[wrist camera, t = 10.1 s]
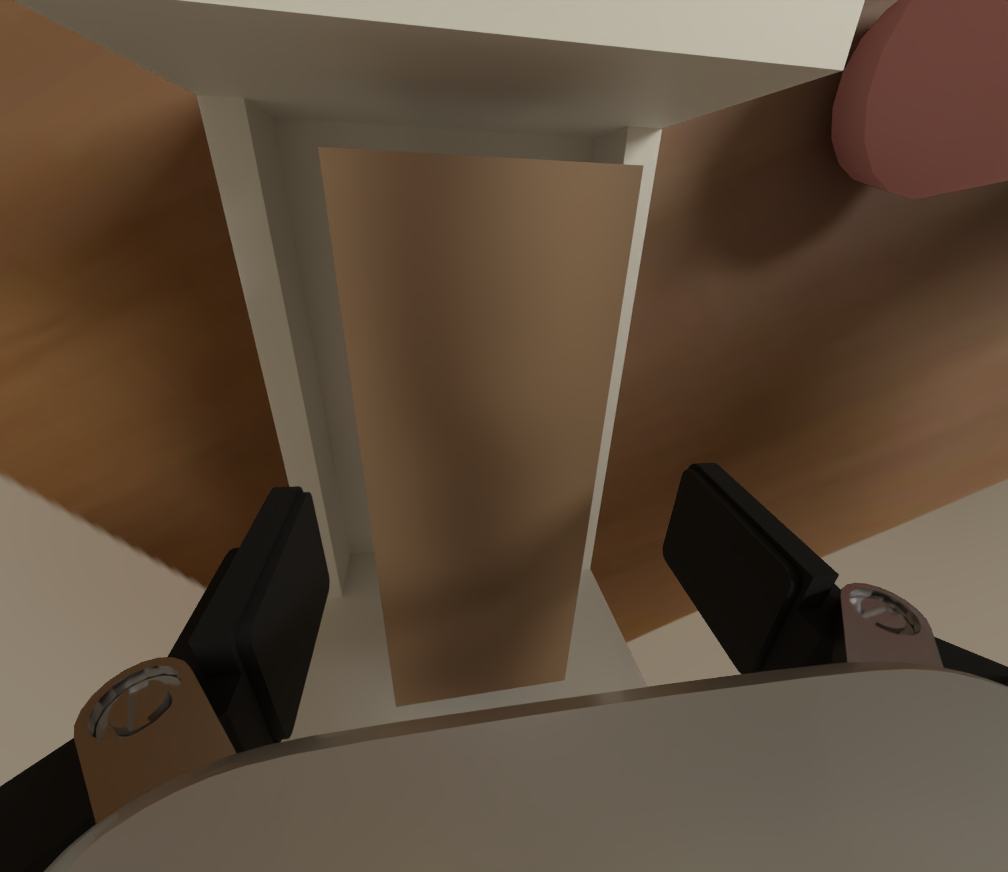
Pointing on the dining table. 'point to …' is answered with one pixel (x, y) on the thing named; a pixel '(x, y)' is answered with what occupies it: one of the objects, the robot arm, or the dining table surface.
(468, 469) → the brown wooden block
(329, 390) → the stand
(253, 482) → the dining table surface
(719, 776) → the robot arm
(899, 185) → the pink vase
